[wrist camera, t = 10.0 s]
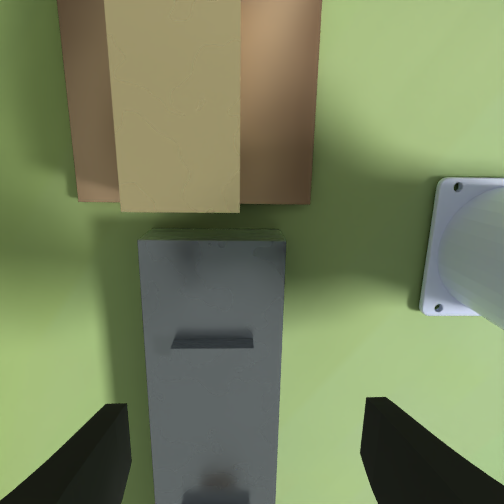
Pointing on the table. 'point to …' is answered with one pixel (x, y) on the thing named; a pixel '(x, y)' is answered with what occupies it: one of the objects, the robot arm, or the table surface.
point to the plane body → (213, 361)
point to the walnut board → (251, 99)
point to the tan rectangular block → (176, 103)
